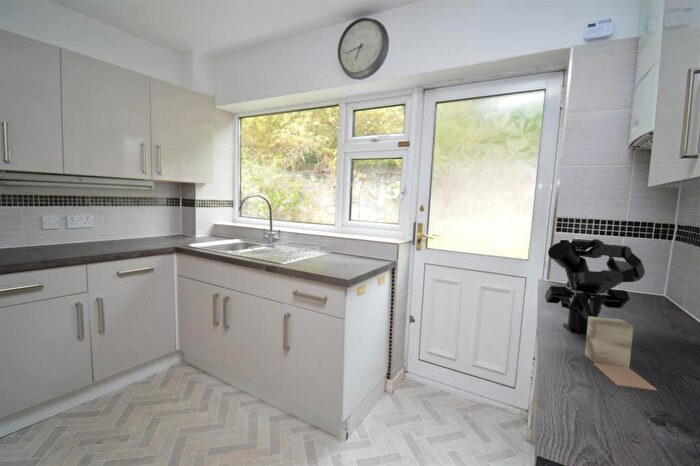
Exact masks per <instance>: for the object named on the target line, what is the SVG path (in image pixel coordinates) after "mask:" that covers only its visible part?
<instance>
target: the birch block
mask: <svg viewBox="0 0 700 466" xmlns="http://www.w3.org/2000/svg"><path fill="white" fill-rule="evenodd" d="M633 335H634V325H632V324H630V323H628V322H626V321H625V320H623V319H620V318H610V317H601V316H598V317H591V316H588V326H587V334H586V339H585V340H586V341H585V351H584V356H585V357H587V358H588V359H589V360H590V361H591V362H593V364H594V363H598V364H606V365H615V366H623V367H629V368H630V364H631V355H632V354H631V353H632V343H633Z"/></svg>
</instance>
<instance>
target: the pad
mask: <svg viewBox="0 0 700 466" xmlns="http://www.w3.org/2000/svg"><path fill="white" fill-rule="evenodd" d="M593 365H594V366H595V367H596V368H598V370H599V371H600V372H602V373H603V374H604V376H606V377H607V378H608V379H610V381H611V382H612V383H614V384H615V386H618V387H626V388H633V389H639V390H640V389H642V390H648V391H657V390H658V389H657V388H656V387H655V386H653V385H652V384H650V383H649V382H648V381H647V380H646V379H644V378H643V377H642V376H640V375H639V374H638V373H636V372H635V371H634V370H632V369H631V368H630V366H629V367H623V366H615V365H606V364H598V363H594V362H593ZM657 392H658V391H657Z"/></svg>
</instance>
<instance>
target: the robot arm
mask: <svg viewBox="0 0 700 466" xmlns="http://www.w3.org/2000/svg"><path fill="white" fill-rule="evenodd" d="M547 252H548V253H547V255H548V257H549V258H551V260H552V261H554V262H555V263H556V264H557V265H558V266H559V267H561V268H562V269H564V270H565V273H566V277H567V282H566V284H565V285H555V284H551V285H550V286H549V287H548V289H547V291H546V293H545V294H544V299H545V302H546V303H548V304H559V303H560V304H561V308H564V309H568V315H567V323H562V326H563V327H564V328H566V329H567V330H568V331H569V332H571V333H577V334H584V335H585V334H586V335H587V326H588V316H591V317H599V315H600V314H601V309H602V305H603V306H604V307H606V308H608V309H621V308H623V307H624V306H625V305H626V304H627V303H629V301H630V300H631V296H630V294H629V292H628V291H627V290H624V289H613V288H615V287H617V286H618V285H620V284H622V283H634V282H638V281H640V280H641V279H642V278H643V277H644V276H645V274H646V273H645V272H646V271H645V266H644V264H643V262H642V260H641V259H640V258H639V257H638V256H637V255H635V254H634V253H633V251H632V248H631V247H630V246H628V245H620V244H607V243H604V242H603V241H602V240H599V239H597V238H588V237H579V236H578V237H577V236H576V237H573V238H572V240H568V239H560V241H559V242H557V243H554V244H553V245H551V247H549V248H548V250H547ZM603 256H606V257H608V259H607V262H606V265H607V266H606V267H607V268H608V270H605V269H603V270H600V271H595V270H594V271H592V270H590V268H589V266H588V263H587V260H586V258H589V259H599V258H603ZM615 258H617V259H618V258H619V259H624V260H615Z"/></svg>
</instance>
